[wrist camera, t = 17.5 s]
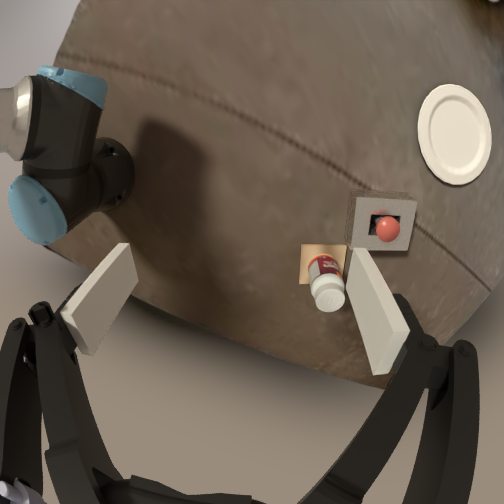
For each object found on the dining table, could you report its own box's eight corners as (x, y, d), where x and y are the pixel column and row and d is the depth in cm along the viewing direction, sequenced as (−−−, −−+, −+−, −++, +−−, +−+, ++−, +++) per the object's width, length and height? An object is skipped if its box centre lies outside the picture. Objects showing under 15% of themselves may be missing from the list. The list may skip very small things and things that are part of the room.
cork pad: (299, 282, 58) (299, 283, 57) (301, 244, 53) (301, 245, 53) (340, 282, 57) (340, 283, 57) (346, 244, 53) (346, 246, 52)
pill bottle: (342, 259, 54) (355, 293, 44) (327, 282, 57) (336, 318, 47) (316, 247, 53) (324, 281, 43) (301, 272, 56) (306, 308, 46)
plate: (459, 201, 46) (463, 204, 44) (395, 141, 42) (399, 142, 41) (498, 131, 36) (503, 132, 35) (440, 63, 33) (445, 62, 31)
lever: (365, 227, 50) (375, 242, 44) (368, 205, 47) (379, 218, 42) (386, 227, 49) (397, 242, 44) (389, 206, 47) (402, 219, 42)
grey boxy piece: (344, 238, 52) (350, 251, 48) (349, 188, 47) (356, 197, 43) (398, 239, 51) (407, 251, 47) (406, 192, 46) (417, 201, 42)
